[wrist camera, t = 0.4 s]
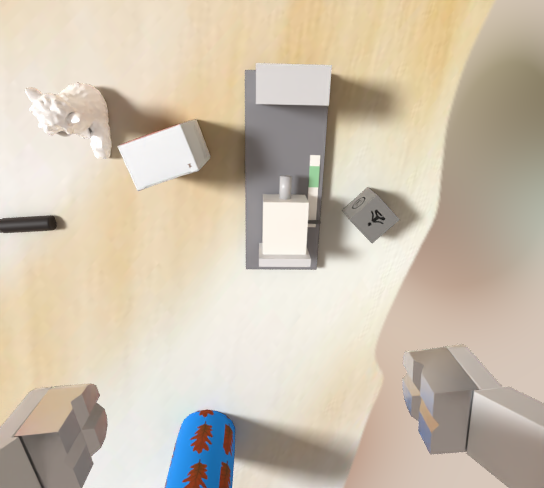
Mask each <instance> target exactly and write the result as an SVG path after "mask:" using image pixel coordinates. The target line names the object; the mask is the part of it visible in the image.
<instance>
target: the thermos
mask: <svg viewBox="0 0 544 488" xmlns="http://www.w3.org/2000/svg"><path fill="white" fill-rule="evenodd" d="M234 453H235V427H234V425H233V422H232V421H231V420H230V419H229V418H228V417H227V416H226V415H224V414H222V413H220V412H218V411H212V410H202V411H197V412H195V413H192V414H190V415H189V416H188V417H187V418H186V419H184V421H183V423H182V425H181V428H180V431H179V434H178V437H177V441H176V444H175V448H174V452H173V456H172V460H171V464H170V468H169V472H168V476H167V480H166V485H165V488H232V481H233V467H234Z"/></svg>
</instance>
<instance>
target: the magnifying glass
mask: <svg viewBox="0 0 544 488" xmlns="http://www.w3.org/2000/svg"><path fill="white" fill-rule="evenodd" d="M56 226H57V225H56V221H55V218H54V217H53V216H35V217H18V218H3V219H0V233H2V232H3V233H13V232H30V231H47V230H54V229H55V228H56Z"/></svg>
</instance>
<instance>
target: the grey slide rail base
mask: <svg viewBox="0 0 544 488" xmlns="http://www.w3.org/2000/svg"><path fill="white" fill-rule="evenodd" d="M331 69H332V65H306V64H268V63H256V70H245V189H246V269H310V270H316V269H317V255H318V241H319V227H320V224H308V227H307V244H306V246H307V249H308V252H309V255H310V258H311V265H310V267H259V243H262V235H263V194H279V189H280V176H282V175H289V176H292V184H291V195H305V196H306V198H307V200H308V202H309V210H308V220H320V213H321V199H322V184H323V170H324V156H325V142H326V128H327V114H328V106H329V97H330V83H331Z"/></svg>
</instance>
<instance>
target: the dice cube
mask: <svg viewBox="0 0 544 488" xmlns="http://www.w3.org/2000/svg"><path fill="white" fill-rule="evenodd" d="M342 211H343V212H344V213H345V215H346V216H347V217H348V219H349V220H350V221H351V222H352V223H353V224H354V225H355V226H356V227H357V228H358V229H359V230H360V231H361V232H362V234H363V235H364V236H365V237H366V238H367V239H368V240H369V241H370V242H371V243H373V242H374V241H376V240H377V239H378V238H379V237H380V236H381V235H383V234H384V233H385V232H386V231H387V230H388V229H390V228H391V227H392V226H393V225H394V224H395V223H396V222H398V221H399V220H400V219H399V218H398V217H397V216H396V215H395V214H394V213H393V212H392V210H391V209H390V208H389V207H388V206H387V205H386V204H385V203H384V202H383V201H382V199H381V198H380V197H379V196H378V195H377V194H376V193H374V192H373V191H372V190H371V189H369V188H368V187H367V188H366V189H365V190H364V191H363V192H362V193H360V194H359V195H358V196H357V197H356V198H355V199H354V200H353V201H352V202H351V203H349V204H348V205H347V206H346V207H345V208H344V209H343V210H342Z"/></svg>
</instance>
